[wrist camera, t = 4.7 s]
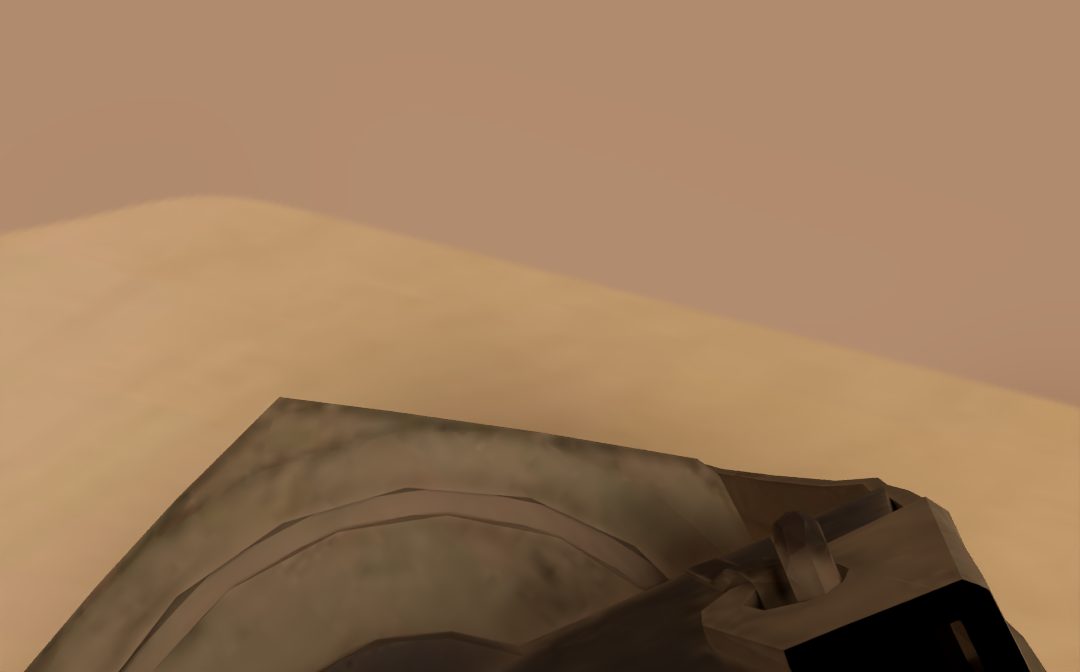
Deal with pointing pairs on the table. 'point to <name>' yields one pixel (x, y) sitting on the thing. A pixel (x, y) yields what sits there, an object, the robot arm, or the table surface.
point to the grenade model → (528, 563)
